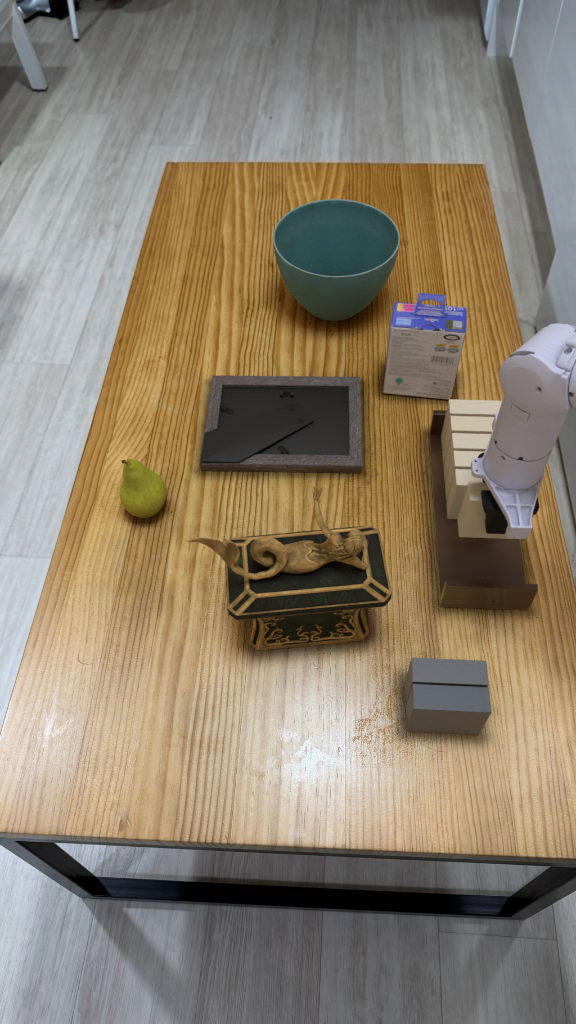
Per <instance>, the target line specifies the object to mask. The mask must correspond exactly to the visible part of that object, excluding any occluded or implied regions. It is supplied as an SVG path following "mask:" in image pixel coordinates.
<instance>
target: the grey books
mask: <svg viewBox="0 0 576 1024" xmlns="http://www.w3.org/2000/svg"><path fill="white" fill-rule="evenodd" d="M487 662H488V661H487V660H477V659H476V660H475V659H455V658H435V657H434V658H433V657H431V658H430V657H411V659H410V661H409V665H408V670H407V673H406V676H405V680H404V701H405V703H404V704H405V729H406V732H416V733H417V732H418V733H435V734H436V733H437V734H438V733H439V734H455V735H456V734H459V735H477V736H478V735H480V734H481V732H482V730H483V728H484V726H485V725H486V723H487V721H488V719H489V718H490V716H491V714H492V704H491V703H492V702H491V692H490V687H489V686H490V683H489V674H488V673H489V672H488V663H487Z"/></svg>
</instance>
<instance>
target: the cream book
mask: <svg viewBox="0 0 576 1024" xmlns="http://www.w3.org/2000/svg"><path fill="white" fill-rule="evenodd" d="M481 490H490V489H489V488H488V486H487V484H486V483H484V482H468V485H467V489H466V492H465V496H464V499H463V502H462V506H461V509H460V513H459V516H458V531H459V537H473V538H501V539H514V538H507V536H506V533H505V534H487V533H486V528H485V518H486V513H485V512H484V509H483V506H482V498H481ZM533 517H534V515H533V516H532V518H533Z"/></svg>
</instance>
